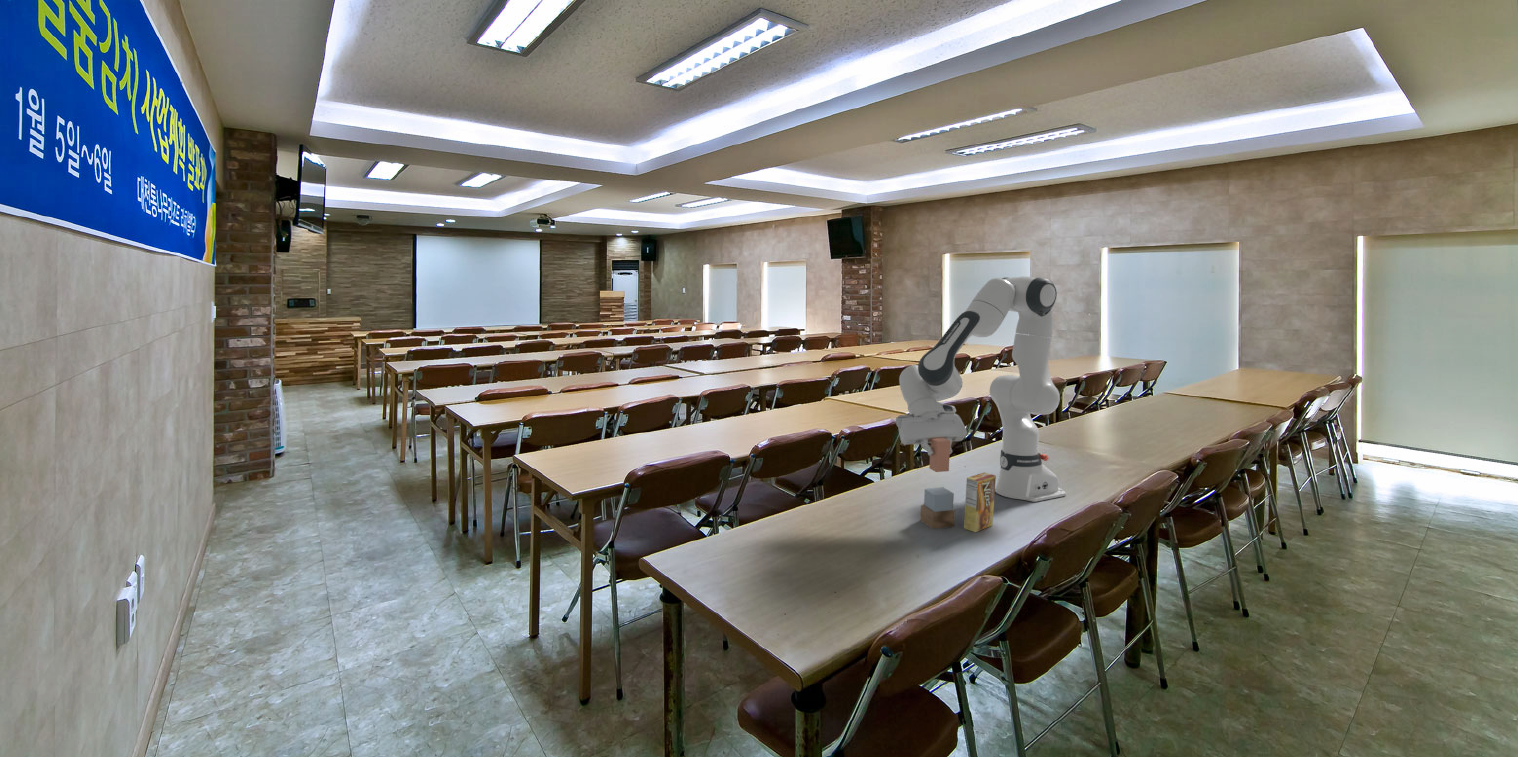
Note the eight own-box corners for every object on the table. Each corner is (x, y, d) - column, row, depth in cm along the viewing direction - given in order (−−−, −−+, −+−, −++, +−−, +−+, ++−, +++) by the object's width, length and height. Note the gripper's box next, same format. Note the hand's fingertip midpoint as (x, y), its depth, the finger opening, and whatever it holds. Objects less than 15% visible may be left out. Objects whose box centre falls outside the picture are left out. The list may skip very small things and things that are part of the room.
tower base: (941, 518, 204) (942, 502, 203) (954, 526, 197) (954, 510, 196) (920, 520, 202) (921, 504, 201) (932, 529, 195) (932, 512, 194)
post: (941, 467, 199) (943, 437, 198) (948, 471, 196) (950, 440, 194) (929, 468, 198) (930, 438, 197) (936, 472, 195) (937, 441, 193)
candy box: (980, 521, 201) (983, 471, 198) (993, 525, 197) (996, 474, 195) (963, 528, 195) (965, 477, 193) (976, 533, 192) (978, 480, 190)
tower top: (942, 503, 202) (942, 487, 202) (953, 509, 197) (953, 493, 196) (924, 505, 201) (924, 488, 200) (934, 511, 195) (935, 495, 194)
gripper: (897, 409, 198) (912, 450, 191) (959, 406, 204) (976, 446, 196) (890, 421, 203) (904, 461, 196) (951, 417, 209) (967, 457, 201)
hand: (940, 453), depth 196 cm, fingers closed on post, 4 cm apart
